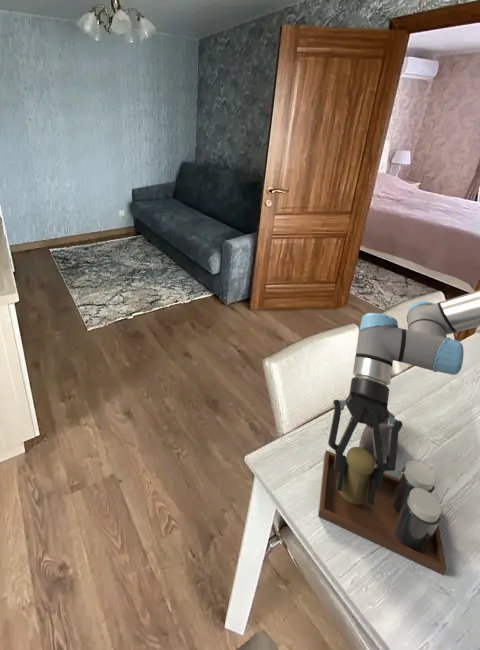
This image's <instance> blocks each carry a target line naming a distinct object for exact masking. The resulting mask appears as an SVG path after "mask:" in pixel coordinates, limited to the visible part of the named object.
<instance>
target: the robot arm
mask: <svg viewBox="0 0 480 650" xmlns="http://www.w3.org/2000/svg"><path fill="white" fill-rule="evenodd" d="M406 323H407V329H405V328H401V327H399V325H398V320H397V318H395V317H393V316H392V315H387V314H384V313H378V312H367V313H365V314H364V315H363V316H362V317H361V322H360V325H359V329H358V330H359V331H358V336H357V341H356V342H357V344H356V348H355V349H356V350H355V357H354V362H353V368H352V375H353V377H352V378H351V381H350V387H349V393H348V396H347V398H346V399H345V400H344V399H343V400H342V399H341V400H339V399H333V400H332V407H333V410H334V411H333V416H332V420H331V426H330V429H329V430H330V431H329V435H328V441H327V445H328V446H329V447H330V448H331V449H332V450H334V452H335V454H336V455H335V461H334V469H335V470H337V471H339V473H338V479H337V485H336V488H337V490H338V491H342V484H343V478H344V471H345V465H346V458H347V455H345V454H344V452H345V451H346V449H347V446H348V444H349V442H350V441H351V438H352V436H353V434H354V432H355V429H356V428H357V426H358V424H364V425H365V426H366V425H367V426H370V429H371V433H372V441H373V448H374V455H373V456H374V461H375V468H374V470H373V472H372V473H371V474H370V481H369V489H368V497H367V502H368V503H369V504H371V505H374V497H375V489H376V487H379V488H381V487H382V482H383V474H384V473H385V472H387V471H388V472H389V471H390V472H394V471H395V470H396V466H397V465H396V464H397V452H398V441H399V432H400V431H401V429H402V427H403V421H402V420H399V419H396V418H393V417H392V416H390V415H389V412H390V411H389V408H388V405H389V397H390V396H389V395H390V388H389V387H388V386H389V385H391V380H392V372H393V371H392V370H393V363H394V361H395V362H398V363H403V364H407V365H411V366H414V367H418V368H421V369H424V370H429V371H432V372H433V373H442V374H447V375H451V376H456V375H458V374H459V373H460V372H461V370H462V367H463V363H464V353H465V351H464V345H463V344H462V342H460V341H459V340H457V339H453V338H451V337H447V336H448V335H451V334H454V333H458V332H462V331H467V330H470V329H475V328H479V327H480V289H479V290H478V289H477V290H475V291H472V292H468V293H466V294H462V295H459V296H456V297H453V298H448V299H445V300H442V301H439V302H436V303H435V302H431V301H426V300H424V301H423V300H421V301H416V302H414V303H413V304H411V305H410V306H409V307H408V310H407V315H406ZM345 407H347V409H348V412H349V413H350V416H351V417H350V418H349V421H348V423H347V425H346V427H345V430H344V432H343V434H342V436H341V438H340V440H339V442H338V444H337V443H336V442H337V437H338V431H339V425H340V420H341V415H342V411H344V410H345ZM388 411H389V412H388ZM386 419H387V420H388V426H389V427H390V430H389V437H388V441H387V450H386V459H385V458H384V453H383V447H382V445H381V438H380V428H379V425H380V424H381V423H382V422H384V421H385V420H386ZM384 459H385V460H384Z"/></svg>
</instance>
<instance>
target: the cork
mask: <svg viewBox="0 0 480 650" xmlns="http://www.w3.org/2000/svg"><path fill="white" fill-rule="evenodd" d="M346 457H347V464H346V466H345V471H344V478H343V484H342V491H339V493H340V494H341V496H342V497H343V498H344V499H346V500H347V501H348V502H351V503H353V504H358V505H359V504H363V503H364V502H365V501H366V499H367V491H368V482H369V474H371V473H372V472H373V470H374V468H376V463H375V458H374V456H372V455H371V454H370V453H369V452H368V451H367V450H365V449H364V448H361V447H359V446H353V447H351V448H349V449H348V451H347V453H346ZM336 485H337V484H336Z"/></svg>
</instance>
